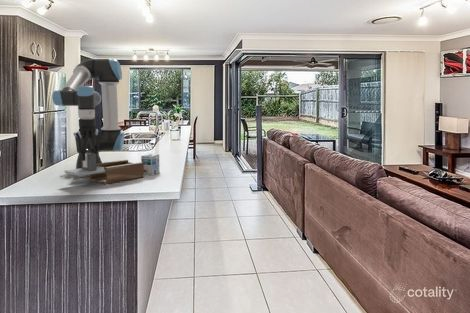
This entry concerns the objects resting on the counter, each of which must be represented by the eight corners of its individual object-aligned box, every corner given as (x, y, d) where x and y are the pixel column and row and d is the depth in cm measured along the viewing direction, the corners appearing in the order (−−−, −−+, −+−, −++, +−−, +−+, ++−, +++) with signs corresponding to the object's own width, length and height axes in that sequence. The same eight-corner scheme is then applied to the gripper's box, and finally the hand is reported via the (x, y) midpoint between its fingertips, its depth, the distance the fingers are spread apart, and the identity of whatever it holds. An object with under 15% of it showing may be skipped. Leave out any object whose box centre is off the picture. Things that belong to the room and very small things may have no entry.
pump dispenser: (100, 175, 213) (99, 148, 211) (87, 179, 204) (86, 150, 201) (85, 174, 217) (84, 147, 214) (71, 177, 207) (70, 149, 205)
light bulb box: (152, 175, 215) (152, 156, 214) (141, 175, 217) (140, 155, 215) (160, 172, 226) (159, 153, 224) (149, 171, 227) (148, 153, 225)
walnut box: (89, 180, 201) (89, 164, 200) (125, 174, 218) (125, 159, 216) (107, 184, 191) (106, 167, 190) (143, 178, 208) (143, 162, 207)
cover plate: (64, 172, 188) (63, 154, 187) (98, 167, 202) (97, 150, 201) (79, 176, 180) (78, 156, 179) (113, 170, 194) (112, 152, 193)
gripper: (75, 119, 179) (77, 169, 182) (106, 118, 191) (107, 165, 195) (66, 118, 184) (69, 167, 187) (97, 117, 196) (99, 164, 199)
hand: (89, 166), depth 191 cm, fingers closed on cover plate, 3 cm apart
